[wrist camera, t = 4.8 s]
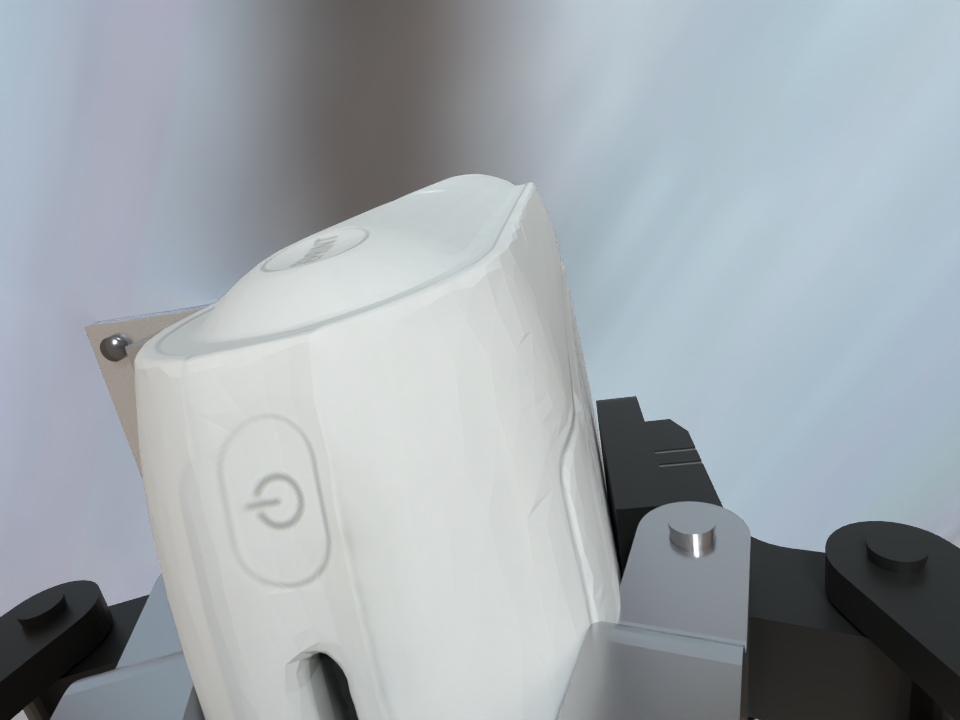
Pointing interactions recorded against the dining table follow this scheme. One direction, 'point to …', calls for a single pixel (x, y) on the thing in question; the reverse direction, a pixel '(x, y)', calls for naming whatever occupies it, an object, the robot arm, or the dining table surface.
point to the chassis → (128, 360)
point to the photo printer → (384, 470)
